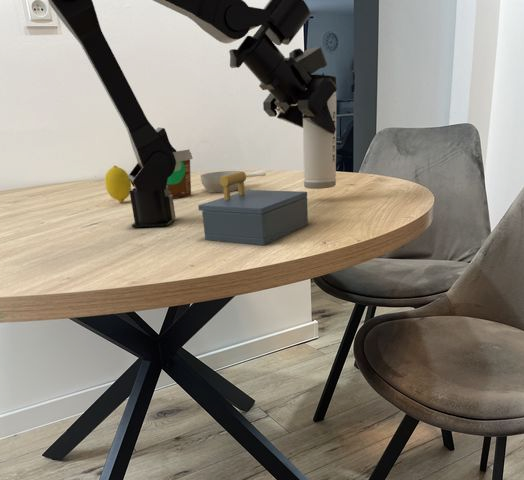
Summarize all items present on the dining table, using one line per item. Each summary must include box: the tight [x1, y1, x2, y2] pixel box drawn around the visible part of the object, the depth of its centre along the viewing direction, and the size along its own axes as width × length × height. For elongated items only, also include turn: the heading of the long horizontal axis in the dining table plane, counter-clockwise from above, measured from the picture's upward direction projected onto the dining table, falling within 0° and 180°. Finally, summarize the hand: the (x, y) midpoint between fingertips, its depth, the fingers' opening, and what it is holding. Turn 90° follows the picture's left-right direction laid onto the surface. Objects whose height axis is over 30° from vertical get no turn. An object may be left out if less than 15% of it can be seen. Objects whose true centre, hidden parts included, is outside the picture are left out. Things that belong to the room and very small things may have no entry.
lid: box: [197, 171, 308, 214], centre depth 79 cm, size 11×14×4 cm
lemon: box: [104, 165, 132, 203], centre depth 115 cm, size 6×6×8 cm
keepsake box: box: [201, 196, 309, 246], centre depth 81 cm, size 11×14×4 cm
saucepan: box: [199, 170, 267, 193], centre depth 122 cm, size 11×18×4 cm, turn 54°
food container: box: [166, 149, 193, 200], centre depth 116 cm, size 12×6×10 cm, turn 76°
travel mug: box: [302, 74, 337, 190], centre depth 97 cm, size 6×7×20 cm
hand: (325, 131), depth 98 cm, fingers closed on travel mug, 6 cm apart
